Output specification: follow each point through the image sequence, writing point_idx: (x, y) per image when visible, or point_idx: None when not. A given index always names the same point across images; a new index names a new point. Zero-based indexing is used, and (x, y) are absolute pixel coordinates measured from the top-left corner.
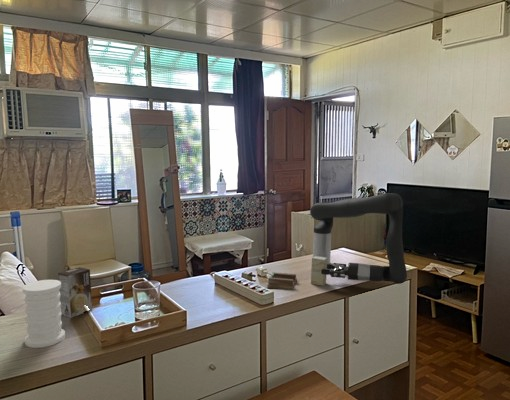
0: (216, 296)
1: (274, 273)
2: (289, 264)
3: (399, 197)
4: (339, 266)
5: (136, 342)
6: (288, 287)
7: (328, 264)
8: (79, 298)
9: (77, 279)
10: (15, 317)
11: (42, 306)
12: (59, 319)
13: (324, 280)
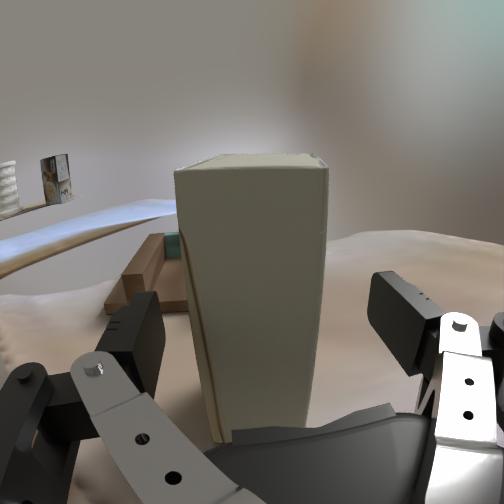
0: (78, 232)
1: None
2: (451, 250)
3: None
4: (428, 445)
5: None
6: (108, 296)
7: (408, 297)
8: (49, 186)
9: (45, 165)
10: None
11: None
12: (3, 198)
13: (239, 421)
